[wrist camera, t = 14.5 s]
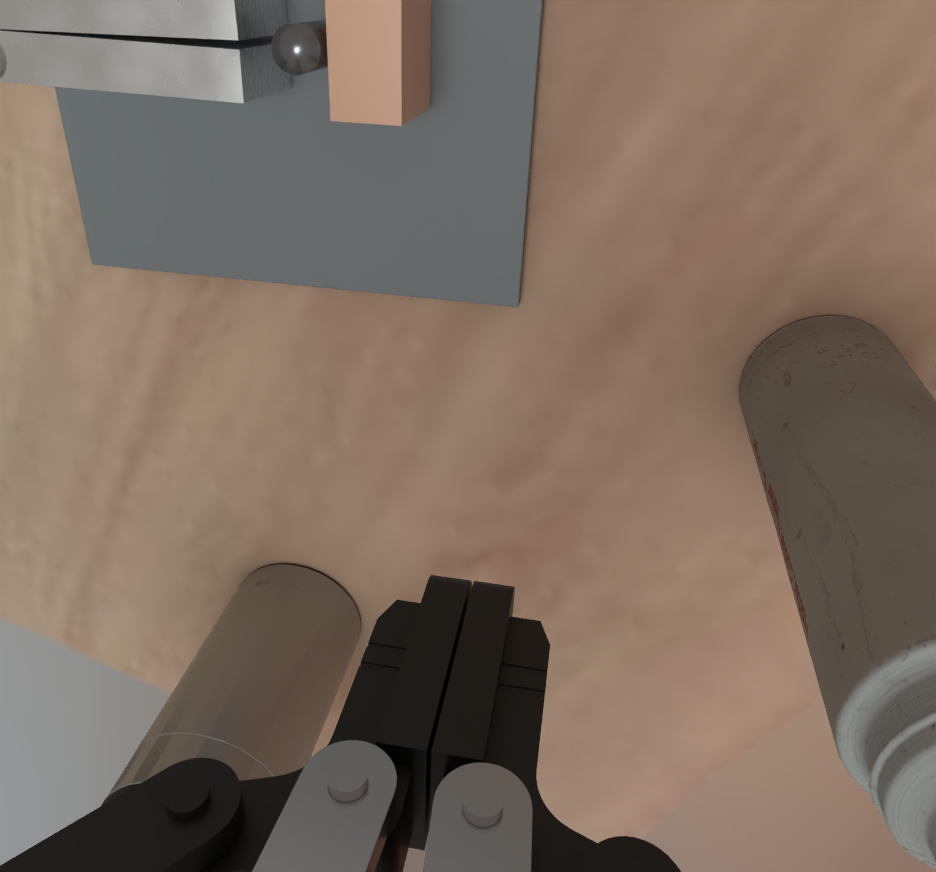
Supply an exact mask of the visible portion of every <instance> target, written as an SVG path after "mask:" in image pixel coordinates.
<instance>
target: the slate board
mask: <svg viewBox="0 0 936 872" xmlns="http://www.w3.org/2000/svg"><path fill="white" fill-rule="evenodd" d="M286 5H287V18H288V24H293V23H301V22H309V21H317V20H325V19H326V12H325V0H286ZM542 13H543V0H432V4H431V72H430V108H428V109H427V110H425V111H424V112H422V113H421V114H419V115H418V116H416V117H415V118H413V119H412V120H410V121H409V122H407V123H406V124H404V125H403V126H393V125H379V124H366V123H352V122H338V121H331V120H330V98H329V77H328V67H326V68H323V69H319V70H316V71H312V72H309V73H305V74H302V75H291V84H292V88H290V89H287V90H284V91H281V92H278V93H275V94H271V95H268V96H265V97H262V98H259V99H256V100H253V101H250V102H247V103H234V102H223V101H211V100H200V99H189V98H178V97H166V96H155V95H144V94H132V93H121V92H110V91H98V90H87V89H76V88H65V87H55V89H56V94H57V98H58V103H59V108H60V113H61V117H62V122H63V127H64V132H65V136H66V141H67V146H68V151H69V155H70V160H71V165H72V170H73V174H74V179H75V184H76V189H77V193H78V198H79V203H80V208H81V212H82V217H83V222H84V227H85V231H86V236H87V241H88V246H89V250H90V255H91V260H92V264H93V265H103V266H113V267H123V268H133V269H143V270H153V271H163V272H173V273H183V274H193V275H203V276H213V277H223V278H233V279H243V280H253V281H263V282H273V283H283V284H292V285H302V286H312V287H322V288H332V289H342V290H352V291H362V292H372V293H382V294H392V295H402V296H412V297H422V298H432V299H442V300H452V301H462V302H472V303H482V304H491V305H501V306H511V307H518V306H519V303H520V293H521V280H522V267H523V254H524V242H525V229H526V216H527V204H528V191H529V178H530V165H531V153H532V140H533V127H534V115H535V102H536V89H537V76H538V64H539V51H540V38H541V26H542ZM273 36H274V35H271V36H264V37H258V39H271V40H272V38H273Z"/></svg>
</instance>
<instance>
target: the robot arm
mask: <svg viewBox="0 0 936 872" xmlns="http://www.w3.org/2000/svg"><path fill="white" fill-rule="evenodd" d="M514 591H515V587H512V586H505V585H499V584H492V583H485V582H478V581H474V583H473V586H472V582H471V581H470V580H463V579H456V578H449V577H442V576H435V575H431V576H430V577H429V580H428V583H427V586H426V589H425V592H424V595H423V598H422V601H421V603H415V602H408V601H402V600H396V601H395V602H394V603H393V604H392V605H391V606H390V607H389V608H388V609H387V610H386V611H385V612H384V613H383V614H382V615H381V616H380V617H379V618H378V619H377V622H376V624H375V627H374V629H373V632H372V635H371V637H370V640H369V644H368V647H367V648H366V650H365V653H364V655H363V658H362V661H361V666H359V668H358V671H357V674H356V676H355V679H354V681H353V684H352V687H351V689H350V692H349V694H348V697H347V700H346V702H345V705H344V707H343V710H342V713H341V715H340V718H339V721H338V723H337V726H336V728H335V731H334V734H333V736H332V738H331V740H330V742H329V744H328V745H327V746H326V747H325V748H323V749H321V750H320V751H318V752H317V753H316V754H315V755H314V756H312V757H311V755H312V752H313V750H314V747H315V745H316V743H317V740H318V738H319V735H320V733H321V730H322V728H323V725H324V723H325V720H326V718H327V715H328V713H329V710H330V708H331V705H332V703H333V700H334V698H335V696H336V693H337V691H338V688H339V686H340V683H341V681H342V679H343V676H344V674H345V671H346V669H347V666H348V664H349V661H350V659H351V656H352V654H353V651H354V649H355V646H356V644H357V641H358V639H359V635H360V631H361V621H360V617H359V614H358V610H357V608H356V606H355V605H354V603H353V601H352V599H351V598H350V597H349V596H348V595H347V593H346V592H345V591H344V590H343V589H342V588H341V587H339V586H338V585H337V584H336V583H335V582H333V581H332V580H330V579H329V578H327V577H325V576H324V575H322V574H320V573H318V572H315V571H313V570H310V569H308V568H304V567H299V566H295V565H282V564H280V565H272V566H266V567H264V568H261V569H258V570H256V571H254V572H253V573H251V574H250V575H248V576H247V578H246V579H245V580H244V581H243V582H242V584H241V585H240V587H239V588H238V590H237V592H236V593H235V595H234V596H233V598H232V599H231V601H230V603H229V604H228V606H227V607H226V609H225V611H224V612H223V614H222V615H221V617H220V618H219V620H218V621H217V623H216V624H215V626H214V627H213V629H212V631H211V632H210V634H209V635H208V637H207V639H206V640H205V642H204V643H203V645H202V647H201V648H200V650H199V651H198V653H197V654H196V656H195V658H194V659H193V661H192V662H191V664H190V666H189V667H188V669H187V670H186V672H185V674H184V675H183V677H182V678H181V680H180V681H179V683H178V685H177V686H176V688H175V689H174V691H173V693H172V694H171V696H170V697H169V699H168V701H167V702H166V704H165V706H164V707H163V709H162V710H161V712H160V713H159V715H158V717H157V718H156V720H155V721H154V723H153V724H152V726H151V728H150V729H149V731H148V732H147V734H146V736H145V737H144V739H143V740H142V742H141V744H140V745H139V747H138V748H137V750H136V751H135V753H134V755H133V757H132V758H131V760H130V761H129V763H128V765H127V766H126V768H125V769H124V771H123V773H122V774H121V776H120V777H119V779H118V781H117V782H116V784H115V785H114V787H113V788H112V790H111V792H110V793H109V795H108V796H107V798H106V799H105V800H104V802H103V804H102V805H101V807H99V808H98V809H96V810H94V811H93V812H91V813H89V814H87V815H86V816H84V817H82V818H81V819H79V820H77V821H76V822H74V823H72V824H70V825H69V826H67V827H65V828H64V829H62V830H60V831H59V832H57V833H55V834H53V835H52V836H50V837H48V838H47V839H45V840H43V841H41V842H40V843H38V844H36V845H35V846H33V847H31V848H30V849H28V850H26V851H24V852H23V853H21V854H19V855H18V856H16V857H14V858H12V859H11V860H9V861H7V862H6V863H4V864H2V865H1V866H0V872H403V868H404V863H405V860H406V855H407V851H408V847H409V848H415V849H420V850H425V846H426V841H427V837H428V841H427V847H426V855H425V861H424V868H423V872H681V871H680V869H679V868H678V867H677V865H676V864H675V863H674V862H673V861H672V860H671V858H669V856H668V855H667V854H665V853H664V852H663V851H662V850H661V849H659V848H658V847H656V846H654V845H653V844H651V843H649V842H647V841H644V840H641V839H638V838H635V837H627V836H620V837H613V838H608V839H606V840H603V841H601V842H600V843H596V842H594V841H592V840H590V839H588V838H586V837H585V836H583V835H581V834H579V833H577V832H575V831H573V830H572V829H570V828H568V827H567V826H565V825H564V824H562V823H561V822H560V821H559V820H557V819H556V818H555V817H554V816H553V814H552V813H551V812H550V811H549V810H548V808H547V807H546V805H545V804H544V802H543V800H542V798H541V796H540V793H539V790H538V787H537V781H536V770H537V761H538V751H539V742H540V733H541V724H542V715H543V705H544V696H545V687H546V678H547V669H548V659H549V650H550V644H549V641H548V639H547V636H546V634H545V631H544V629H543V627H542V624H541V622H540V621H536V620H529V619H522V618H516V617H512V614H513V603H514ZM310 757H311V759H310ZM428 833H429V834H428Z"/></svg>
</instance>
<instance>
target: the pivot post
mask: <svg viewBox="0 0 936 872" xmlns="http://www.w3.org/2000/svg"><path fill="white" fill-rule="evenodd" d="M271 50H272V55H273V58H274V60H275V62H276V64H277V65H278V66H279V67H280V68H281V69H282V70H283V71H284V72H286V73H288V74H290V75H302V74H305V73H309V72H312V71H316V70H319V69H323V68H326V67H328V55H327V33H326V19H325V20H317V21H309V22H301V23H293V24H286V25H283V26H281V27H280V28H279V29H278V30H277V31H276V32H275V34H274V36H273V38H272V42H271Z"/></svg>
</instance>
